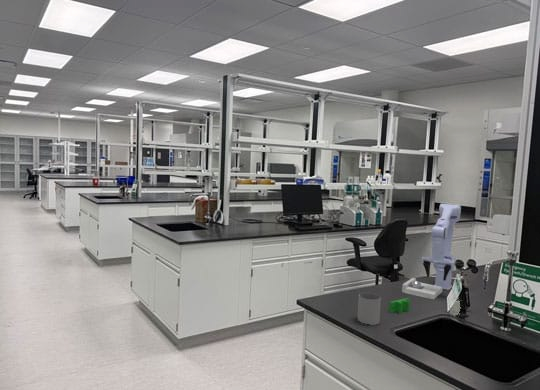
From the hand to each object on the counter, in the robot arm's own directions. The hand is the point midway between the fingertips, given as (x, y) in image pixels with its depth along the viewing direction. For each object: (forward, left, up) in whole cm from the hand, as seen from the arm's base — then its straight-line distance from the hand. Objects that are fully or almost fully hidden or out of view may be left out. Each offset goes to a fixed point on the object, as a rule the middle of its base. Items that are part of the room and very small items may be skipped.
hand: (436, 278), depth 184 cm
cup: (+53, -12, -9) cm, 55 cm away
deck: (-1, -6, -9) cm, 11 cm away
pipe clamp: (+33, -5, -9) cm, 35 cm away
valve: (+17, +14, -9) cm, 24 cm away
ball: (0, -9, -6) cm, 11 cm away
